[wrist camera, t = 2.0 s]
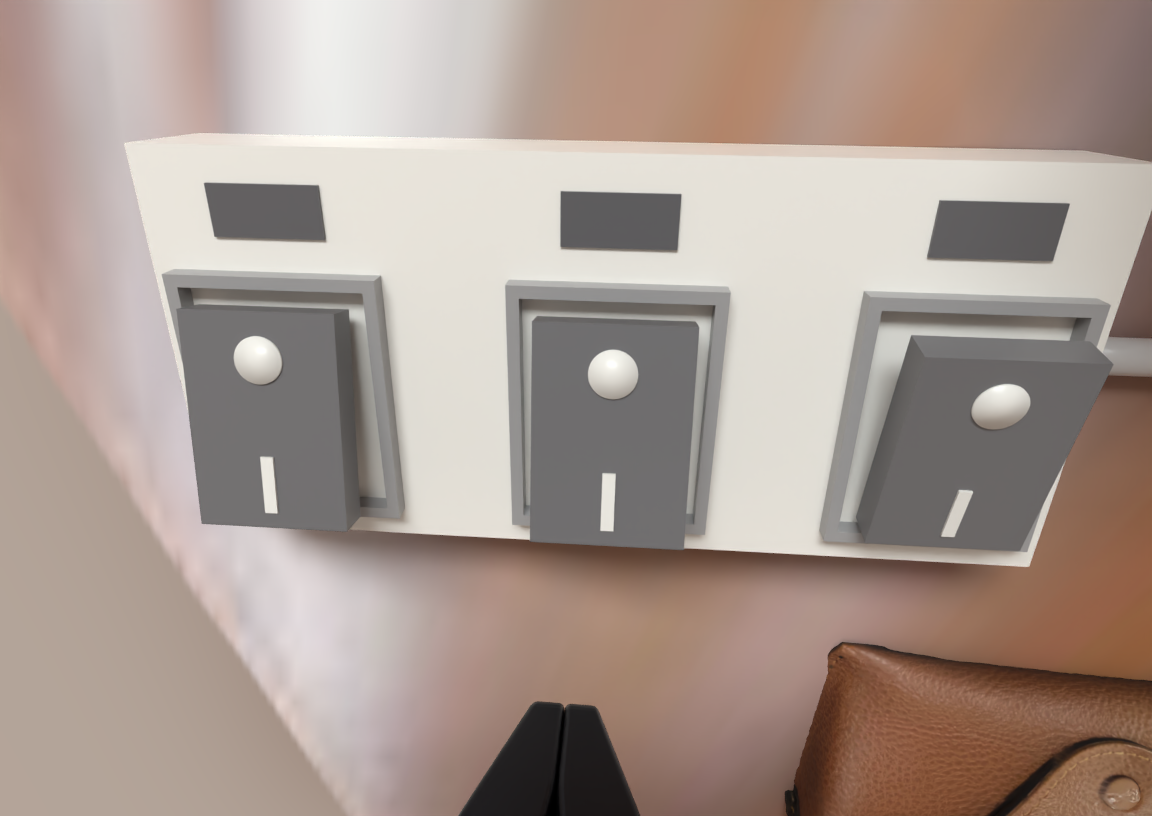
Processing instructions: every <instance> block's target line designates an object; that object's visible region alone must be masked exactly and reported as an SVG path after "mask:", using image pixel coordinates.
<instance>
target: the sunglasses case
mask: <svg viewBox="0 0 1152 816" xmlns="http://www.w3.org/2000/svg"><path fill="white" fill-rule="evenodd" d="M794 783H795V784H794V790H793V791H791V790H787V791H785V802H786V812H787V815H788V816H1152V681H1146V680H1132V679H1123V678H1112V677H1100V676H1094V675H1081V674H1069V673H1059V672H1051V671H1046V670H1037V669H1025V668H1016V667H1008V666H998V665H991V664H983V663H972V662H959V661H952V660H945V659H940V658H936V657H931V656H925V655H917V654H912V653H904V652H899V651H894V650H890V649H887V648H886V647H883V646H878V645H868V644H857V643H845V642H842V643H841V644H839V645H838V646H836V647H834V648H833V649H832V650H831V651H830V652H829V654H828V675H827V679H826V682H825V684H824V687H823V690H822V694H821V696H820V700H819V703H818V706H817V710H816V711H815V715H814V718H813V722H812V725H811V727H810V730H809V735H808V737H807V741H806V743H805V747H804V750H803V753H802V757H801V759H800V766H799V767H798V769H797V772H796V777H795V780H794Z"/></svg>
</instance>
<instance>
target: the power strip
mask: <svg viewBox="0 0 1152 816" xmlns="http://www.w3.org/2000/svg"><path fill="white" fill-rule="evenodd" d="M124 145H125V149H126V154H127V158H128V162H129V166H130V170H131V175H132V179H133V183H134V187H135V191H136V196H137V200H138V204H139V208H140V212H141V216H142V221H143V225H144V229H145V233H146V237H147V242H148V246H149V250H150V254H151V258H152V262H153V267H154V271H155V275H156V279H157V283H158V288H159V292H160V296H161V300H162V304H163V309H164V313H165V317H166V321H167V325H168V329H169V334H170V338H171V342H172V346H173V350H174V355H175V359H176V363H177V367H178V371H179V375H180V380H181V384H182V388H183V392H184V396H185V401H186V405H187V409H188V403H187V395H186V386H185V378H184V369H183V361H182V353H181V344H180V336H179V327H178V319H177V311H176V309H178V308H183V307H188V306H193V305H198V304H211V305H240V306H268V307H297V308H326V309H349V319H350V337H351V355H352V372H353V390H354V408H355V425H356V443H357V461H358V478H359V496H360V514H361V517H360V518H359V519H358V520H357V521H356V522H355V523H354V525H353V526H352V527H351V528H350V529H349V530H361V531H379V532H398V533H416V534H434V535H453V536H471V537H489V538H508V539H526V540H530V469H531V363H532V321H533V320H534V319H535V318H536V316H554V317H583V318H611V319H640V320H669V321H696V323H697V324H698V326H699V341H698V355H697V369H696V383H695V398H694V412H693V426H692V440H691V454H690V469H689V483H688V497H687V511H686V526H685V540H684V548H691V549H710V550H728V551H746V552H765V553H783V554H801V555H820V556H838V557H856V558H875V559H893V560H911V561H930V562H948V563H967V564H985V565H1003V566H1022V567H1029V565H1030V562H1031V560H1032V557H1033V554H1034V551H1035V548H1036V545H1037V542H1038V539H1039V536H1040V533H1041V531H1042V528H1043V525H1044V522H1045V519H1046V516H1047V513H1048V510H1049V507H1050V504H1051V501H1052V499H1053V496H1054V493H1055V490H1056V487H1057V484H1058V481H1059V478H1060V475H1061V472H1062V470H1063V467H1064V464H1065V462H1064V464H1063V466H1062V468H1061V470H1060V472H1059V474H1058V476H1057V478H1056V480H1055V482H1054V484H1053V486H1052V488H1051V490H1050V492H1049V494H1048V496H1047V498H1046V500H1045V502H1044V504H1043V506H1042V508H1041V510H1040V512H1039V514H1038V516H1037V518H1036V520H1035V522H1034V524H1033V526H1032V528H1031V530H1030V532H1029V534H1028V536H1027V538H1026V540H1025V542H1024V544H1023V546H1022V548H1021V550H1020V551H1006V550H987V549H968V548H949V547H931V546H912V545H893V544H874V543H865V542H864V539H863V536H862V533H861V530H860V528H859V525H858V522H857V519H856V515H857V511H858V508H859V505H860V501H861V498H862V495H863V492H864V488H865V485H866V482H867V479H868V475H869V472H870V469H871V465H872V462H873V459H874V456H875V452H876V449H877V446H878V442H879V439H880V436H881V433H882V429H883V426H884V423H885V420H886V416H887V413H888V410H889V406H890V403H891V400H892V397H893V393H894V390H895V387H896V383H897V380H898V377H899V374H900V370H901V367H902V364H903V361H904V357H905V354H906V351H907V347H908V344H909V341H910V338H911V335H922V336H950V337H979V338H1007V339H1035V340H1063V341H1090V342H1091V343H1092V344H1093V345H1094V346H1096V347H1097V348H1098V349H1099V350H1100V351H1101V352H1102V353H1103V354H1104V355H1105V356H1106V357H1107V358H1108V359H1109V360H1110V361H1111V362H1112V363H1113V364H1114V365H1113V367H1112V369H1111V371H1110V373H1109V375H1114V376H1140V377H1152V338H1127V337H1108V336H1109V333H1110V330H1111V327H1112V324H1113V321H1114V318H1115V316H1116V313H1117V310H1118V307H1119V304H1120V301H1121V298H1122V295H1123V292H1124V289H1125V286H1126V284H1127V281H1128V278H1129V275H1130V272H1131V269H1132V266H1133V263H1134V260H1135V257H1136V255H1137V252H1138V249H1139V246H1140V243H1141V240H1142V237H1143V234H1144V231H1145V228H1146V225H1147V223H1148V220H1149V217H1150V214H1151V211H1152V162H1149V161H1143V160H1137V159H1131V158H1125V157H1120V156H1114V155H1108V154H1102V153H1096V152H1090V151H1084V150H1035V149H984V148H934V147H883V146H832V145H781V144H730V143H679V142H628V141H578V140H527V139H476V138H425V137H374V136H323V135H273V134H222V133H195V134H188V135H180V136H173V137H165V138H157V139H150V140H142V141H135V142H127V143H124ZM188 413H189V412H188ZM1065 461H1066V460H1065Z"/></svg>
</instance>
